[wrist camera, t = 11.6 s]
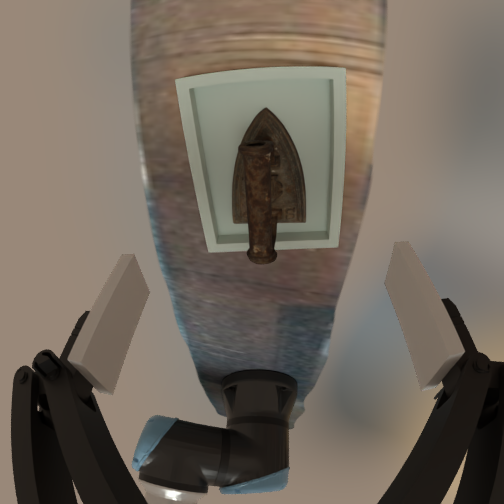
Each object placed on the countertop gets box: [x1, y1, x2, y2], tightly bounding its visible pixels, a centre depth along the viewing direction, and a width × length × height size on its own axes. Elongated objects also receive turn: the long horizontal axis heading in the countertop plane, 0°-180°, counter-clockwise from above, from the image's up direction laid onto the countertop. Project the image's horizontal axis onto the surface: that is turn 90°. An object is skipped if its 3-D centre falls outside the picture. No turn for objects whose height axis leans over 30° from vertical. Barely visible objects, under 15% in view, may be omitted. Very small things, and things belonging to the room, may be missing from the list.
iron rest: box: [175, 66, 346, 253], centre depth 24 cm, size 17×13×2 cm
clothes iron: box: [232, 108, 306, 264], centre depth 21 cm, size 7×11×10 cm, turn 5°
